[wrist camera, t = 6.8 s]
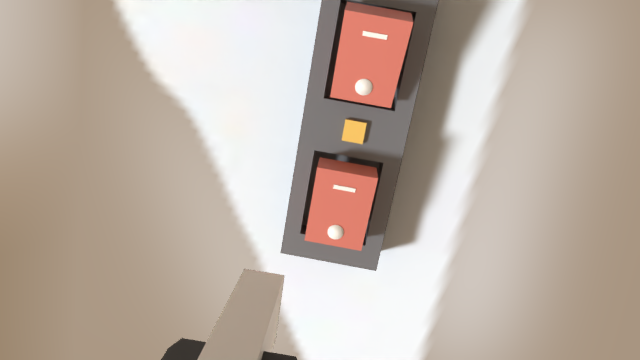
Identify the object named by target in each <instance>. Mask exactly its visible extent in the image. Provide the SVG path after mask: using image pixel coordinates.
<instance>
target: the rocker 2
mask: <svg viewBox="0 0 640 360" xmlns="http://www.w3.org/2000/svg"><path fill="white" fill-rule="evenodd" d="M377 181H378V175H377V168H376V167H371V166H365V165H360V164H354V163H349V162H343V161H338V160H332V159H327V158H321V157H320V158H319V162H318V166H317V171H316V177H315V183H314V188H313V194H312V200H311V206H310V211H309V217H308V223H307V229H306V234H305V241H310V242H316V243H321V244H326V245H332V246H337V247H342V248H348V249H353V250H359V251H361V250H362V245H363V241H364V237H365V233H366V228H367V224H368V220H369V215H370V211H371V207H372V202H373V198H374V194H375V190H376V185H377Z"/></svg>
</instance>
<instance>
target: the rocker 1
mask: <svg viewBox="0 0 640 360" xmlns="http://www.w3.org/2000/svg"><path fill="white" fill-rule="evenodd" d="M412 26H413V18H412V14H411V13H409V12H403V11H397V10H392V9H386V8H381V7H375V6H369V5H364V4H358V3H353V2H347V4H346V7H345V12H344V18H343V23H342V29H341V35H340V41H339V47H338V53H337V59H336V65H335V71H334V77H333V83H332V89H331V95H330V97H332V98H338V99H343V100H349V101H354V102H360V103H365V104H371V105H376V106H382V107H387V108H391V106H392V102H393V98H394V94H395V91H396V87H397V83H398V79H399V75H400V72H401V68H402V64H403V60H404V56H405V53H406V49H407V45H408V41H409V37H410V34H411V30H412Z"/></svg>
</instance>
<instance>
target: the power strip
mask: <svg viewBox="0 0 640 360" xmlns="http://www.w3.org/2000/svg"><path fill="white" fill-rule="evenodd" d="M438 1H439V0H322V2H321V8H320V14H319V21H318V27H317V33H316V39H315V45H314V51H313V57H312V64H311V70H310V76H309V82H308V88H307V94H306V100H305V107H304V113H303V119H302V125H301V131H300V137H299V143H298V150H297V156H296V162H295V168H294V174H293V180H292V187H291V193H290V199H289V205H288V211H287V217H286V223H285V230H284V236H283V242H282V248H281V253H284V254H289V255H294V256H300V257H305V258H311V259H316V260H321V261H327V262H332V263H337V264H343V265H348V266H353V267H359V268H364V269H369V270H375V271H376V269H377V265H378V260H379V256H380V252H381V247H382V243H383V239H384V234H385V230H386V226H387V221H388V217H389V213H390V208H391V204H392V200H393V195H394V191H395V187H396V182H397V178H398V174H399V169H400V165H401V161H402V156H403V152H404V148H405V144H406V139H407V135H408V131H409V126H410V122H411V118H412V113H413V109H414V105H415V100H416V96H417V92H418V87H419V83H420V79H421V74H422V70H423V66H424V61H425V57H426V53H427V48H428V44H429V40H430V35H431V31H432V27H433V22H434V18H435V14H436V9H437V5H438ZM347 2H353V3H358V4H364V5H369V6H375V7H381V8H386V9H392V10H397V11H403V12H409V13H411V14H412V18H413V26H412V30H411V34H410V37H409V41H408V45H407V49H406V53H405V56H404V60H403V64H402V68H401V72H400V75H399V79H398V83H397V87H396V91H395V94H394V98H393V102H392V106H391V108H387V107H382V106H376V105H371V104H365V103H360V102H354V101H349V100H343V99H338V98H332V97H330V95H331V89H332V83H333V77H334V71H335V65H336V59H337V53H338V47H339V41H340V35H341V29H342V23H343V18H344V12H345V7H346V4H347ZM320 157H321V158H327V159H332V160H338V161H343V162H349V163H354V164H360V165H365V166H371V167H376V168H377V175H378V181H377V185H376V190H375V194H374V198H373V202H372V207H371V211H370V215H369V220H368V224H367V228H366V233H365V237H364V241H363V245H362V250H361V251H359V250H353V249H348V248H342V247H337V246H332V245H326V244H321V243H316V242H310V241H305V234H306V229H307V223H308V217H309V211H310V206H311V200H312V194H313V188H314V183H315V177H316V171H317V166H318V162H319V158H320Z"/></svg>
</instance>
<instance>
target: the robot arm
mask: <svg viewBox="0 0 640 360" xmlns="http://www.w3.org/2000/svg"><path fill="white" fill-rule="evenodd" d="M283 282H284V275H279V274H273V273H267V272H261V271H255V270H249V269H244V271H243V273H242V274H241V276H240V279H239V280H238V282H237V284H236V286H235V288H234V290H233V292H232V294H231V296H230V298H229V300H228V301H227V303H226V305H225V307H224V309H223V311H222V313H221V315H220V317H219V319H218V321H217V323H216V325H215V326H214V329H213V330H212V332H211V334H210V336H209V338H208V340H207V342H201V341H195V340H189V339H183V338H182V339H180V340H179V341H178V342H176V343H175V344H174V345H172V346H171V347H169V348H168V350H167V351H166V353H165V354H164V356H163V358H162V359H161V360H297V358H296V357H294V356H288V355H283V354H277V353H272V351H273V347H274V344H275V340H276V335H277V326H278V319H279V312H280V305H281V297H282V290H283Z"/></svg>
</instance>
